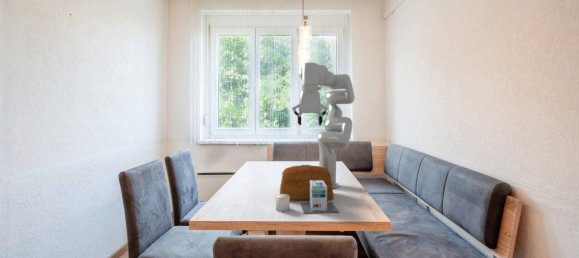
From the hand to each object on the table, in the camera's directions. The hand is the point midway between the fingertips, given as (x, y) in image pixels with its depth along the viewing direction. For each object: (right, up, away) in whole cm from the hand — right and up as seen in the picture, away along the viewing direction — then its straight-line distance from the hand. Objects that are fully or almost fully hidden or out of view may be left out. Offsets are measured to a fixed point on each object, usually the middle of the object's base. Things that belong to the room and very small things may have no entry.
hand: (309, 125), depth 131 cm
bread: (-1, -36, +7) cm, 37 cm away
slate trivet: (+3, -37, -11) cm, 39 cm away
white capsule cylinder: (-13, -37, -12) cm, 41 cm away
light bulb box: (+3, -37, -11) cm, 38 cm away
